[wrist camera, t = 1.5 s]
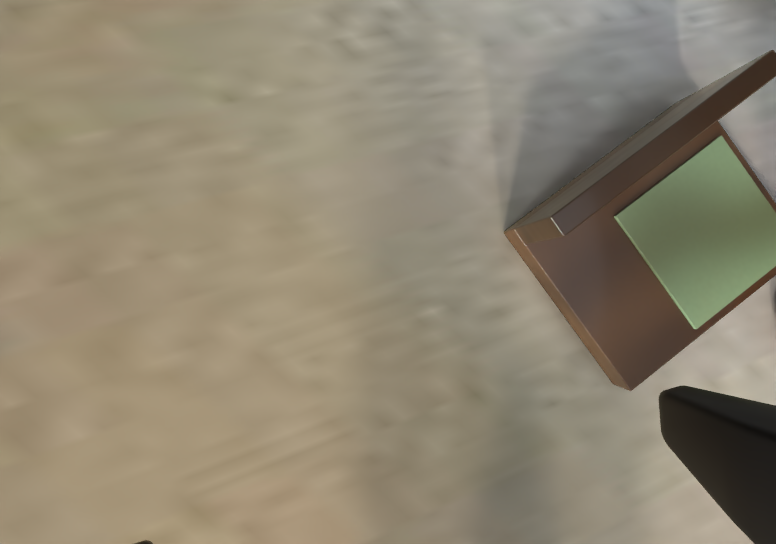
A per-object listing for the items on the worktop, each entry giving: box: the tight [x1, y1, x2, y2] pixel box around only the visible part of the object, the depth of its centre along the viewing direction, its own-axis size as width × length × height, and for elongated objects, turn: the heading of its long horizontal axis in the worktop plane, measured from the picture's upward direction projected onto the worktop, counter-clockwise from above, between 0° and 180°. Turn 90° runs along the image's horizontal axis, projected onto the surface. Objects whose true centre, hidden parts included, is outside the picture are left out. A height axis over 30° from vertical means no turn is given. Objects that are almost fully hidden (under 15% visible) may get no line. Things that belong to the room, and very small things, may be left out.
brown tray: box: [504, 50, 776, 391], centre depth 20 cm, size 10×12×6 cm
